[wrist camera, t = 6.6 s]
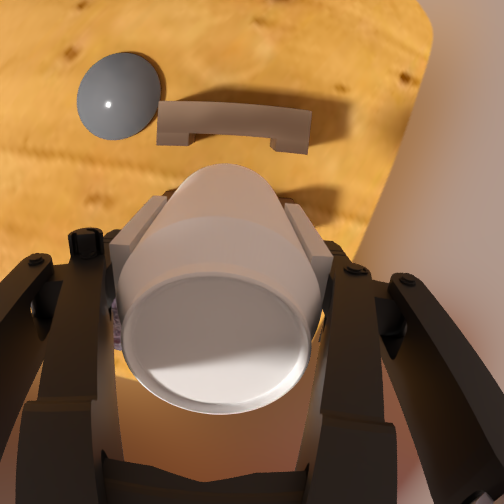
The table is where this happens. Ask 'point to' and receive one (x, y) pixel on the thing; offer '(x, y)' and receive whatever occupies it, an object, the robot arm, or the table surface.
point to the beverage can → (219, 296)
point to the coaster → (118, 96)
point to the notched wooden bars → (233, 125)
